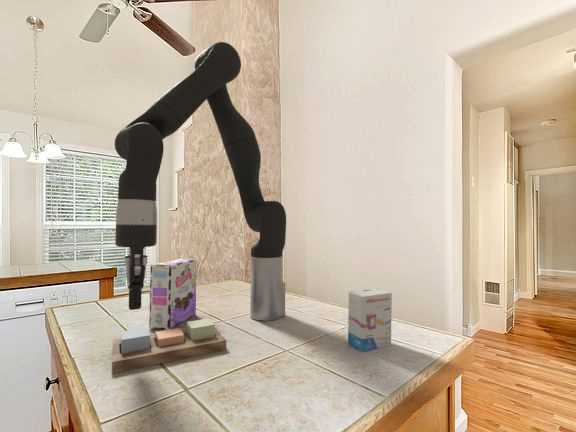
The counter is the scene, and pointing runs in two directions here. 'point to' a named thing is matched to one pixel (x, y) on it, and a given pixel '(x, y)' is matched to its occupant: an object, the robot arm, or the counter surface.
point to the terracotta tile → (169, 337)
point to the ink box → (369, 319)
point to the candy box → (172, 293)
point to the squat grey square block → (135, 340)
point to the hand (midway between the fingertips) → (134, 308)
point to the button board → (164, 352)
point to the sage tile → (200, 329)
